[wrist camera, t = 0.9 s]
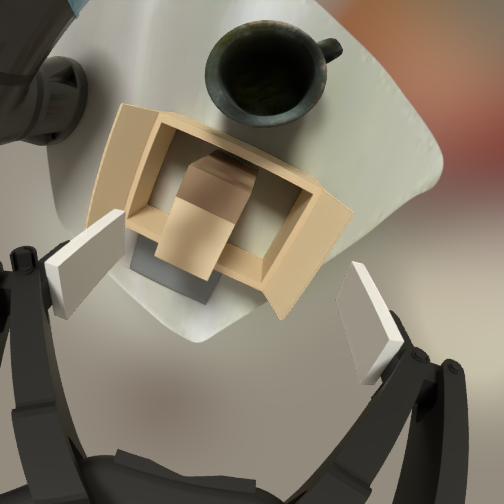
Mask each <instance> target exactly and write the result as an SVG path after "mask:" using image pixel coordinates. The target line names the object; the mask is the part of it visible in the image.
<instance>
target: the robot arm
mask: <svg viewBox="0 0 504 504" xmlns="http://www.w3.org/2000/svg"><path fill="white" fill-rule="evenodd" d="M88 1H89V0H0V145H3V144H7V143H11V142H14V141H19V140H20V141H24V142H28V143H32V144H35V145H40V146H45V145H51V144H55V143H58V142H60V141H62V140H64V139H65V138H67V137H68V136H69V135H70V134H71V133H72V132H73V130H74V129H75V128H76V126H77V125H78V123H79V121H80V119H81V117H82V115H83V112H84V109H85V105H86V100H87V79H86V75H85V73H84V70H83V68H82V67H81V65H80V64H79V63H78V62H77V61H75V60H73V59H71V58H67V57H61V56H55V57H50V58H47V56H48V55H49V53H50V52H51V50H52V49H53V48H54V46H55V45H56V43H57V42H58V40H59V39H60V38H61V36H62V35H63V34H64V32H65V31H66V30H67V28H68V27H69V26H70V24H71V23H72V22H73V21H74V19H75V18H76V19H77V18H78V16H79V13H80V11H81V10H82V9H83V7H84V6H85V5H86V4H87V3H88ZM46 58H47V59H46ZM125 217H126V211H123V210H118V209H113V210H112V211H111V212H109V213H108V214H106V215H105V216H104V217H102V218H101V219H99V220H98V221H97V222H95V223H94V224H93V225H91V226H90V227H88V228H87V229H86V230H84V231H83V232H82V233H80V234H79V235H78V236H77V237H75V238H74V239H73V240H71V241H70V240H68V241H65V242H63V243H60V244H59V245H58V246H57V247H55V248H54V249H53V250H51V251H50V252H49V253H48V254H47V255H45V256H44V257H43V258H41V259H40V260H39V261H38V259H37V251H36V249H35V248H34V247H31V246H23V247H19V248H16V249H14V250H13V251H12V252H11V254H10V259H11V264H12V269H13V271H4V270H3V265H2V263H1V262H0V366H1V362H2V357H3V353H4V349H5V344H6V340H7V337H8V333H9V329H10V346H11V347H10V348H11V367H12V379H13V387H14V395H15V402H16V408H15V409H12V413H11V414H12V422H13V428H14V433H15V438H16V442H17V447H18V451H19V455H20V459H21V463H22V467H23V470H24V474H25V477H26V480H27V483H28V484H26V485H24V486H21V487H19V488H16V489H14V490H11V491H9V492H6V493H3V494H0V504H365V502H366V501H367V499H368V498H369V496H370V494H371V492H372V489H371V488H370V485H371V483H372V481H373V480H374V478H375V477H376V475H377V473H378V472H379V470H380V468H381V467H382V465H383V463H384V461H385V460H386V458H387V456H388V455H389V453H390V451H391V449H392V448H393V446H394V444H395V442H396V440H397V438H398V436H399V434H400V432H401V430H402V428H403V426H404V424H405V422H406V420H407V418H408V416H409V414H410V412H411V409H412V415H411V422H410V428H409V434H408V440H407V445H406V450H405V455H404V460H403V464H402V469H401V473H400V477H399V481H398V485H397V489H396V492H395V496H394V499H393V503H392V504H465V496H466V487H467V474H468V453H469V431H468V430H469V427H468V405H467V393H466V382H465V374H464V370H463V368H462V367H461V365H460V364H459V363H458V362H456V361H454V360H452V359H446V360H445V361H444V362H443V363H442V364H441V366H439V365H437V364H434V363H431V362H430V359H429V356H428V355H427V354H426V352H424V351H423V350H422V349H420V348H418V347H414V346H413V344H412V343H411V340H410V338H409V336H408V334H407V332H406V331H405V328H404V327H403V325H402V323H401V321H400V319H399V317H398V316H397V315H396V314H395V313H394V312H393V311H391V310H388V308H387V306H386V304H385V302H384V301H383V299H382V297H381V295H380V293H379V291H378V289H377V288H376V286H375V284H374V282H373V280H372V279H371V277H370V275H369V273H368V272H367V270H366V268H365V266H364V264H362V263H358V262H354V261H352V262H351V264H350V266H349V269H348V271H347V274H346V276H345V278H344V281H343V283H342V285H341V288H340V290H339V293H338V295H337V297H336V299H335V301H336V304H337V307H338V310H339V314H340V317H341V320H342V323H343V326H344V330H345V334H346V337H347V340H348V344H349V347H350V351H351V354H352V358H353V362H354V365H355V369H356V372H357V376H358V380H359V384H363V385H374V384H375V383H376V382H377V380H378V379H379V378H380V376H381V379H382V382H383V383H382V384H381V386H380V387H379V388H378V390H377V391H376V392H375V393H374V395H373V396H372V397H371V398H372V399H371V401H370V402H369V403H368V405H367V406H366V408H365V409H364V411H363V412H362V414H361V415H360V416H359V418H358V419H357V421H356V422H355V423H354V425H353V426H352V427H351V429H350V430H349V431H348V433H347V434H346V435H345V437H344V438H343V439H342V440H341V442H340V443H339V444H338V445H337V447H336V448H335V449H334V450H333V452H332V453H331V454H330V455H329V456H328V457H327V459H326V460H325V461H324V462H323V463H322V464H321V466H320V467H319V468H318V469H317V470H316V471H315V472H314V473H313V475H312V476H311V477H310V478H309V479H308V480H307V481H306V482H305V483H304V484H303V485H302V486H301V487H300V488H299V490H297V491H296V492H295V493H294V494H293V495H292V496H291V497H289V498H288V499H287V500H286V501H285V502H282V501H281V500H280V499H278V498H277V497H276V496H274V495H272V494H271V493H269V492H267V491H265V490H262V489H260V488H256V480H251V479H243V478H235V477H228V476H195V477H186V476H182V475H179V474H177V473H175V472H173V471H171V470H169V469H167V468H165V467H163V466H161V465H159V464H157V463H155V462H154V461H152V460H150V459H147V458H143V457H140V456H137V455H134V454H131V453H128V452H125V451H122V450H119V449H117V452H116V455H115V456H113V455H99V456H92V457H88V458H87V456H86V454H85V452H84V450H83V448H82V445H81V443H80V441H79V438H78V436H77V433H76V430H75V427H74V424H73V421H72V418H71V415H70V411H69V408H68V405H67V401H66V398H65V395H64V391H63V386H62V382H61V378H60V374H59V370H58V365H57V361H56V356H55V350H54V346H53V339H52V333H51V326H50V319H49V314H48V309H49V308H50V307H51V305H52V306H53V311H54V315H55V316H58V317H60V318H63V319H66V320H68V319H69V317H70V316H71V315H72V314H73V312H74V311H75V310H76V309H77V308H78V306H79V305H80V304H81V303H82V301H83V300H84V299H85V298H86V297H87V295H88V294H89V293H90V292H91V291H92V290H93V288H94V287H95V286H96V285H97V284H98V283H99V281H100V280H101V279H102V278H103V277H104V276H105V275H106V273H107V272H108V271H109V270H110V269H111V268H112V267H113V266H114V265H115V263H116V262H117V261H118V260H119V259H120V258H121V257H122V256H123V255H124V249H125Z"/></svg>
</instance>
